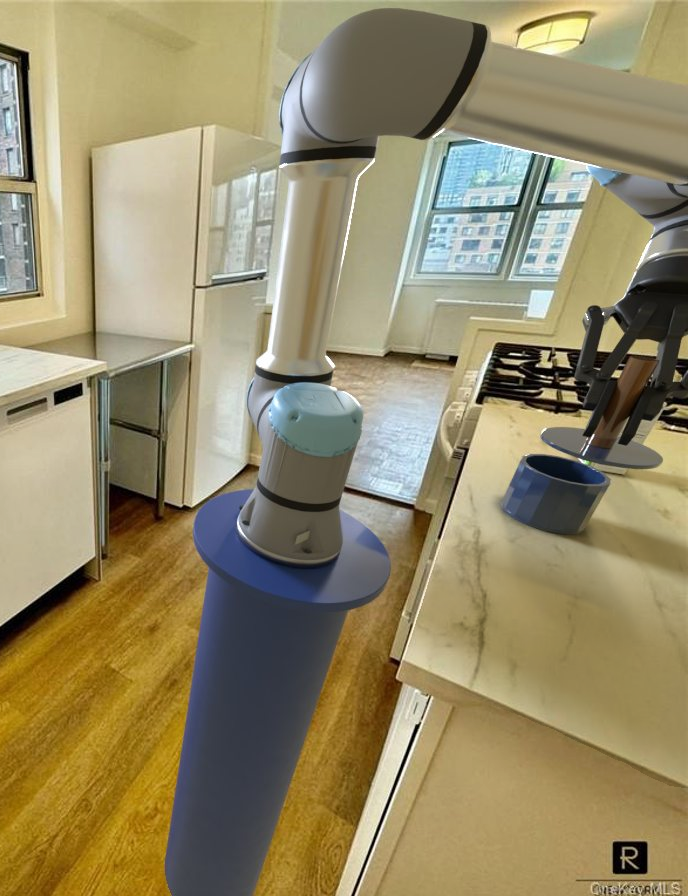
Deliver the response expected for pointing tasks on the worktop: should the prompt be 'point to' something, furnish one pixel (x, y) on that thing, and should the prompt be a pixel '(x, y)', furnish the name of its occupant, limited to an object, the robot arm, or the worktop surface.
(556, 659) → the worktop surface
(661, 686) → the worktop surface
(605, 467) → the syrup box
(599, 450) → the lid
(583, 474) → the pot
